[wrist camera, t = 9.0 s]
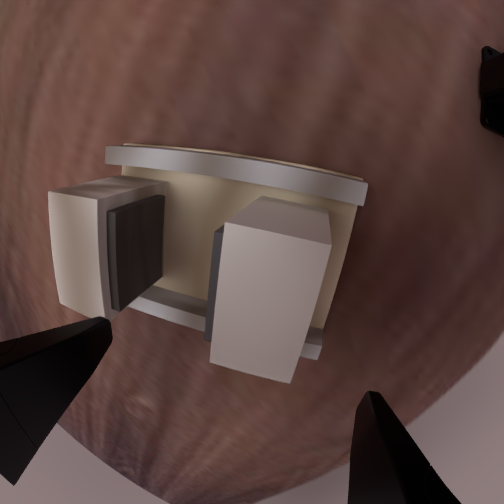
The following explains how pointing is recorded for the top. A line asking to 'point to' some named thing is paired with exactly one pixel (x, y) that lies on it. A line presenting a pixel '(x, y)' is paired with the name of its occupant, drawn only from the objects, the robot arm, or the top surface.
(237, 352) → the block
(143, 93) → the top surface
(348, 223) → the beige clamp block
